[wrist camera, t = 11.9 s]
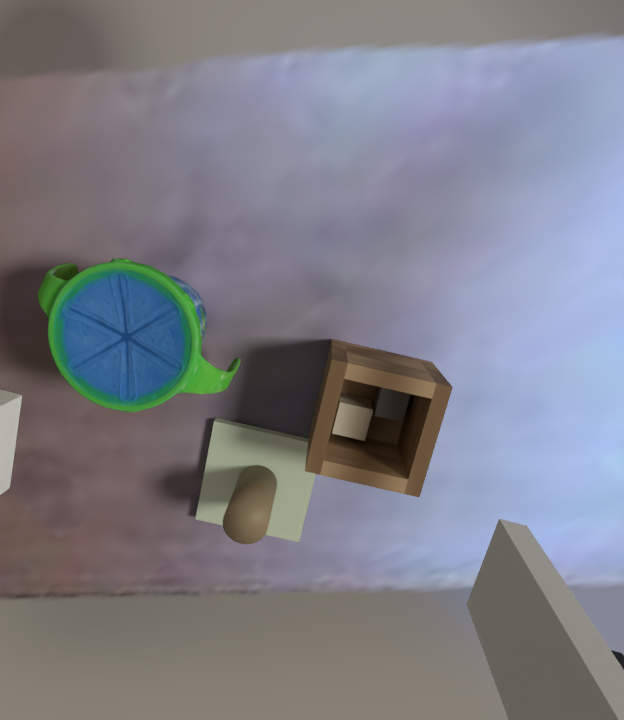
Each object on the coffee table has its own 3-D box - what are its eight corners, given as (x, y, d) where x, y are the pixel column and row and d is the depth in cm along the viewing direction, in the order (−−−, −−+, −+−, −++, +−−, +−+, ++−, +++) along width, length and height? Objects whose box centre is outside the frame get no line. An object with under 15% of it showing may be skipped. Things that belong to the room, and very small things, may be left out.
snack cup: (274, 323, 45) (258, 346, 36) (206, 414, 48) (174, 460, 38) (123, 212, 44) (62, 204, 34) (61, 312, 46) (-14, 332, 36)
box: (309, 433, 48) (304, 471, 40) (331, 339, 46) (332, 359, 38) (404, 455, 48) (419, 497, 40) (431, 362, 46) (452, 387, 38)
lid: (198, 512, 50) (173, 564, 42) (216, 416, 48) (193, 452, 40) (299, 535, 50) (293, 590, 42) (322, 440, 48) (321, 480, 40)
